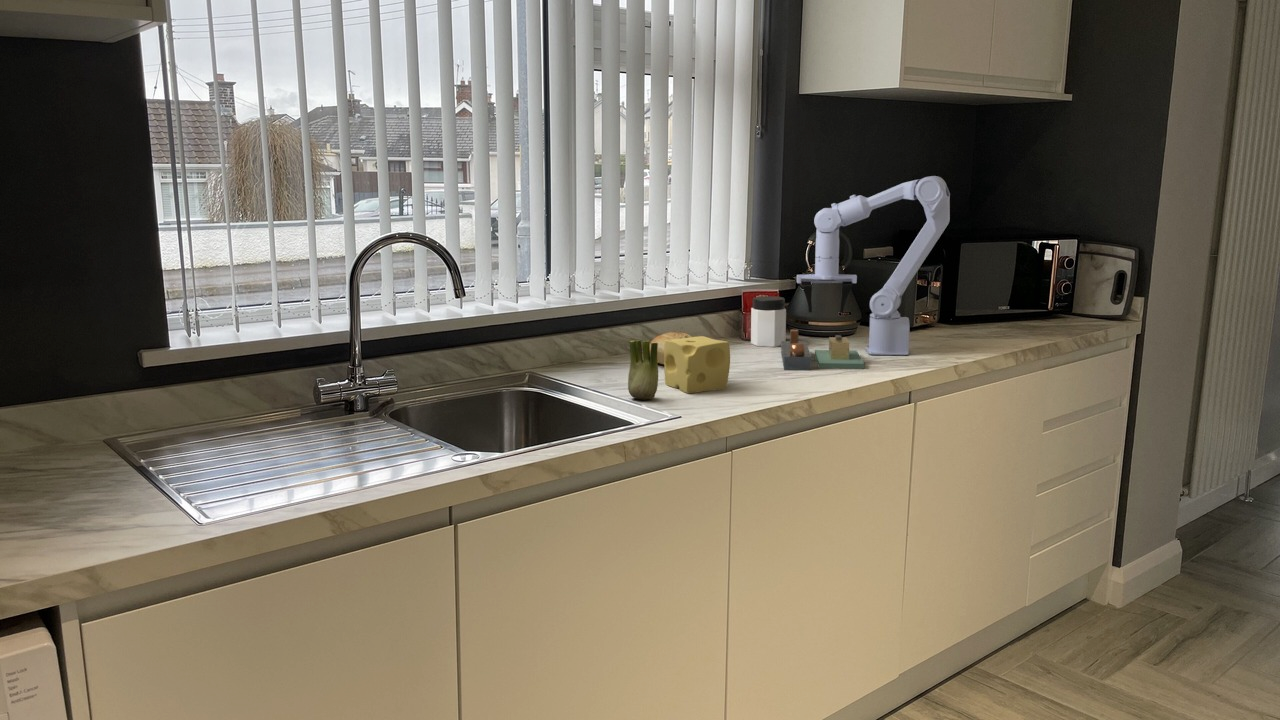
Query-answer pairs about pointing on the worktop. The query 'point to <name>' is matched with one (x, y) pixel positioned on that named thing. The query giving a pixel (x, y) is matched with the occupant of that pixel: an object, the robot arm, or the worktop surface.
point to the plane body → (795, 353)
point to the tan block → (839, 348)
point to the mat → (827, 362)
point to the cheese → (696, 364)
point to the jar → (768, 321)
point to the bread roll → (661, 343)
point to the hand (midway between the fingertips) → (825, 311)
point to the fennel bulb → (643, 370)
